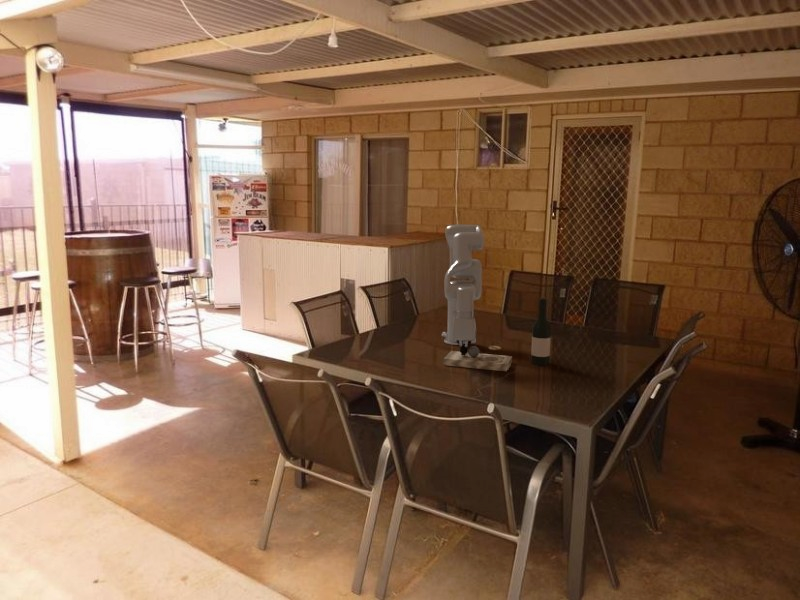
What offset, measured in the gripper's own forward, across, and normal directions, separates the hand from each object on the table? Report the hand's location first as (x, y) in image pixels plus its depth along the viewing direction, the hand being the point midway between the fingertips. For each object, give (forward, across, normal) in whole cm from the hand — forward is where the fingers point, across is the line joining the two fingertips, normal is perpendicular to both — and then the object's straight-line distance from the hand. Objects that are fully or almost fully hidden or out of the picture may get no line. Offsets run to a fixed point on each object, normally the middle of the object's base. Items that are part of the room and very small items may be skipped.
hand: (463, 354), depth 272 cm
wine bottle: (+4, +32, +11) cm, 34 cm away
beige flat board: (+4, +6, 0) cm, 8 cm away
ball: (-2, +4, 0) cm, 5 cm away
